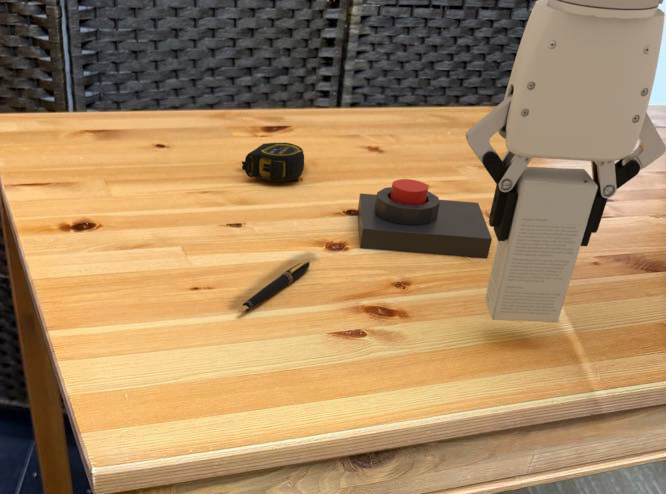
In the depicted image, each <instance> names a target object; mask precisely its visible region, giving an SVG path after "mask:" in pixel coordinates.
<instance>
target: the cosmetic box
mask: <svg viewBox="0 0 666 494" xmlns="http://www.w3.org/2000/svg"><path fill="white" fill-rule="evenodd" d="M597 189H598V186H597V184H596V183H595V182H594V181H593V178H592V177H591V175H590V174H589V172H588V171H586V169H585V168H568V167H567V168H565V167H564V168H563V167H545V166H527V167H526V168H525V170H524V171H523V173H522V174H521V176H520V178H519V179H518V181H517V182H516V187H515V190H516V192H517V194H518V198H517V202H516V207H515V211H514V215H513V219H512V223H511V227H510V231H509V235H508V239H507V240H505V241H498V240H497V243H496V247H495V253H494V257H493V262H492V266H491V270H490V275H489V279H488V284H487V288H486V292H485V297H484V301H485V305H486V307H487V310H488V312H489V315H490V318H491V320H492V321H507V322H532V323H552V324H553V323H555V324H556V323H558V322H559V319H560V316H561V313H562V309H563V306H564V302H565V299H566V296H567V293H568V289H569V287H570V286H569V285H570V282H571V278H572V276H573V273H574V269H575V266H576V262H577V258H578V256H579V253H580V249H581V247H582V246H581V242H582V239H583V236H584V232H585V229H586V226H587V222H588V218H589V215H590V212H591V208H592V205H593V202H594V199H595V195H596V192H597Z"/></svg>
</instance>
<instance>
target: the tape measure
mask: <svg viewBox="0 0 666 494" xmlns="http://www.w3.org/2000/svg"><path fill="white" fill-rule="evenodd" d="M241 164H242V166H241V169H242V170H243V171H244V172H245V174H246V176H247V177H248V178H260V179H262V180H265V181H269V182H279V183H280V182H285V183H287V182H289V181H290V182H291V181H294V180H296V179H299V178H300V177H301V176H302V174H303V172H304V169H305V154H304V149H303V148H302V147H301V146H299V145H297V144H293V143H290V142H267V143H262V144H261V145H259V146H258V147H257V148H254V149H253V150H251V151H250V152H248V153H247V154H246V156H245V159H244V161H243V160H242V161H241Z"/></svg>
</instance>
